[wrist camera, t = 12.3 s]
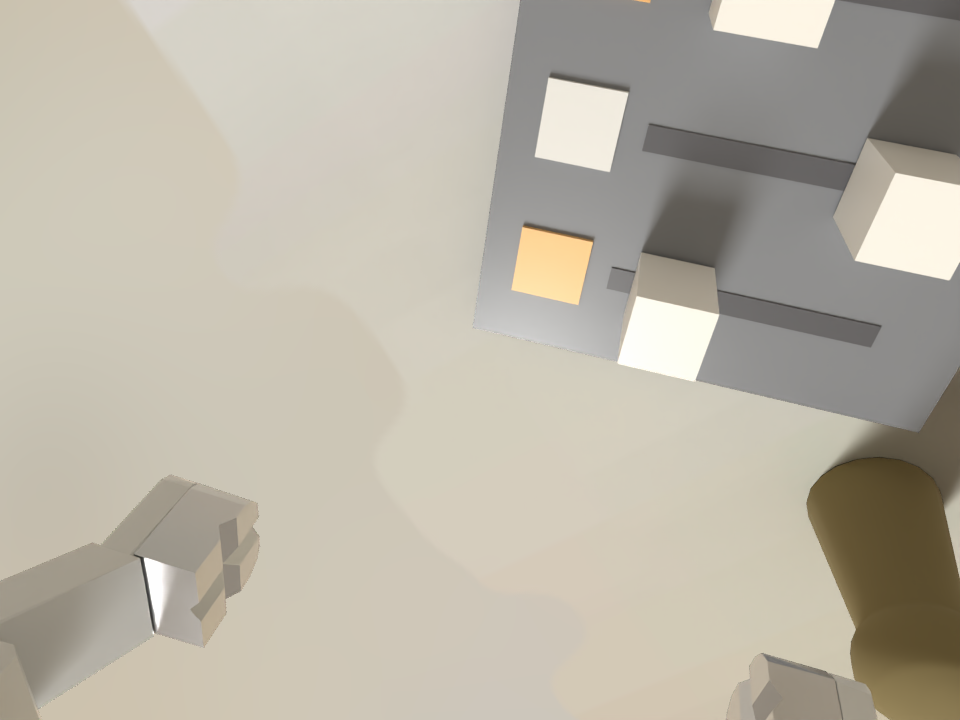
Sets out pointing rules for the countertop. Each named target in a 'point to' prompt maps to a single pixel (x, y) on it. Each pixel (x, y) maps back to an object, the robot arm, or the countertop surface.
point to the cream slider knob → (773, 19)
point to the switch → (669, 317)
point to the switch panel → (724, 192)
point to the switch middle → (903, 209)
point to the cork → (894, 583)
